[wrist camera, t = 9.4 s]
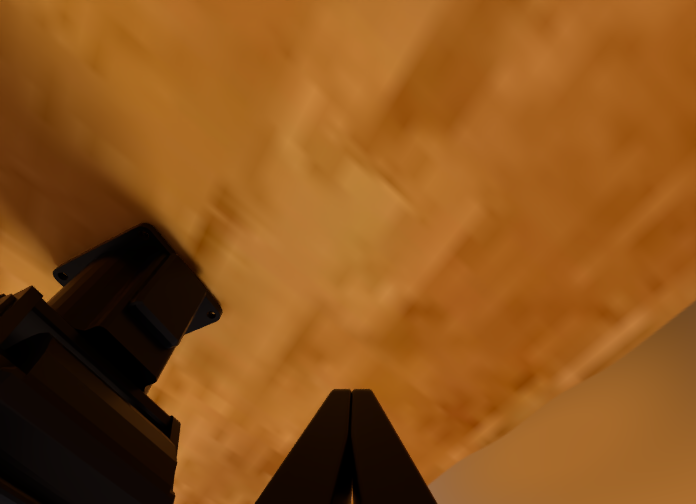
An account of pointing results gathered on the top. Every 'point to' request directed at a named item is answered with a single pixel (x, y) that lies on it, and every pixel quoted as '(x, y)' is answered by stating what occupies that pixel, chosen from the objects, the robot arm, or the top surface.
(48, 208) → the top surface
